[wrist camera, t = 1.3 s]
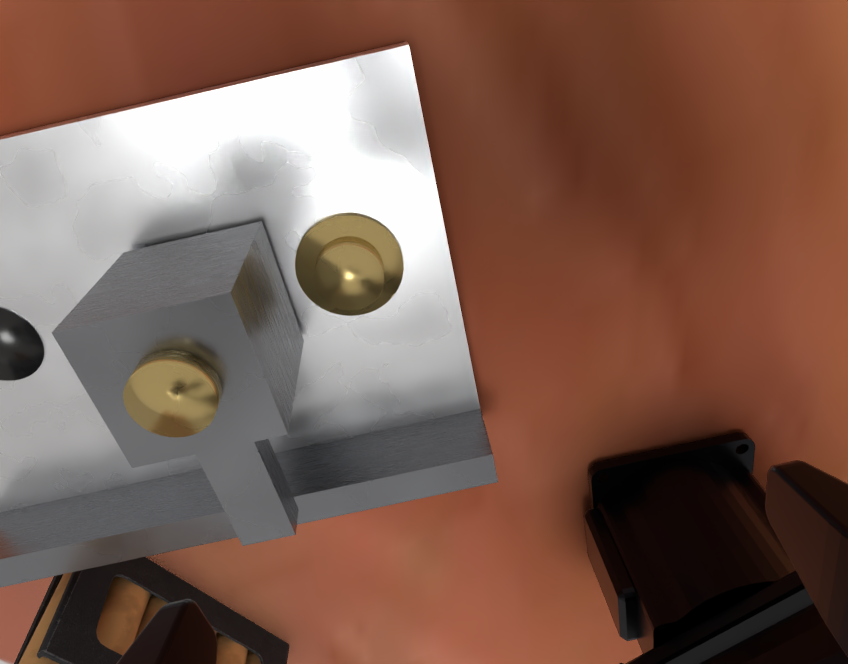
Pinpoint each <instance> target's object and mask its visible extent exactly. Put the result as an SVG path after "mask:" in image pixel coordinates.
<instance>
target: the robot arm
mask: <svg viewBox="0 0 848 664" xmlns="http://www.w3.org/2000/svg"><path fill="white" fill-rule="evenodd" d="M739 445H740V446H739ZM738 446H739V447H738ZM754 451H755V444H754V442H753V441H752V440H751V438H750V437H749V436H748V435H747V434H745V433H734V434H730V435H725V436H720V437H715V438H711V439H706V440H701V441H697V442H692V443H687V444H682V445H678V446H673V447H668V448H664V449H659V450H654V451H649V452H645V453H640V454H635V455H630V456H626V457H621V458H616V459H612V460H607V461H602V462H598V463H596V464H594V465H593V466H591V467H590V469H589V471H588V480H589V491H590V502H591V509H589V510H587V511H586V513H585V515H584V523H585V533H586V543H587V553H588V556H589V559H590V561H591V564H592V567H593V569H594V572H595V574H596V577H597V579H598V582H599V584H600V587H601V590H602V592H603V595H604V597H605V600H606V602H607V605H608V607H609V610H610V613H611V615H612V618H613V620H614V623H615V625H616V628H617V631H618V633H619V636H620V637H622V638H623V639H625V640H626V641H630V640H635V639H637V640H638V643H639V645H640V647H641V650H642V652H643V654H642V655H640V656H638V657H637V658H635V659H633V660H631V661H629V662H627V663H626V664H848V484H847V483H845V482H843V481H841V480H839V479H837V478H836V477H834V476H832V475H830V474H828V473H826V472H824V471H822V470H820V469H818V468H816V467H814V466H812V465H810V464H808V463H806V462H803V461H798V460H796V461H790V462H786V463H781V464H777V465H773V466H771V467H770V469H769V470H768V474H767V486H766V491H765V490H764V489H763V487H762V486H761V485H760V483H759V482H758V481H757V480H756V478H755V477H754V476H753V475H752V473H753V462H754ZM603 473H605V474H604V475H602V476H599V475H601V474H603ZM216 662H217V638H216V634H215V631H214V629H213V628H212V626H211V625H210V623H209V622H208V620H207V619H206V617H205V616H204V614H203V612H202V611H201V609H200V608H199V606H198V605H197V603H196V602H195V601H193V600H191V599H185V600H180V601H176V602H172V603H168V604H165V605H164V606H162V607H161V608H160V609H159V610H158V611H157V613H156V614H155V615H154V616H153V618H152V619H151V620H150V622H149V623H148V624H147V625H146V627H145V628H144V629H143V630H142V632H141V633H140V634H139V636H138V637H137V638H136V639H135V641H134V642H133V643H132V644H131V646H130V647H129V648H128V650H127V651H126V652H125V653H124V655H123V656H122V657H121V658H120V660H119V661H118V662H117V664H216ZM620 664H623V663H620Z"/></svg>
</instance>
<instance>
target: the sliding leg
mask: <svg viewBox="0 0 848 664" xmlns="http://www.w3.org/2000/svg"><path fill="white" fill-rule="evenodd" d="M52 334H53V336H54V338H55V340H56V341H57V343H58V345H59V346H60V348H61V350H62V351H63V353H64V355H65V356H66V358H67V360H68V361H69V363H70V365H71V366H72V368H73V370H74V371H75V373H76V375H77V376H78V378H79V380H80V382H81V383H82V385H83V387H84V388H85V390H86V392H87V393H88V395H89V397H90V398H91V400H92V402H93V403H94V405H95V407H96V408H97V410H98V412H99V413H100V415H101V417H102V419H103V420H104V422H105V424H106V425H107V427H108V429H109V430H110V432H111V434H112V435H113V437H114V439H115V440H116V442H117V444H118V445H119V447H120V449H121V450H122V452H123V454H124V455H125V457H126V459H127V461H128V462H129V464H130V466H131V467H132V468H135V467H140V466H145V465H149V464H154V463H158V462H163V461H168V460H172V459H177V458H182V457H186V456H191V455H196V456H197V458H198V460H199V462H200V464H201V466H202V468H203V470H204V472H205V474H206V476H207V478H208V480H209V482H210V484H211V485H212V487H213V489H214V491H215V493H216V495H217V497H218V499H219V501H220V503H221V505H222V507H223V509H224V511H225V513H226V514H227V516H228V518H229V520H230V522H231V524H232V526H233V528H234V530H235V532H236V534H237V536H238V538H239V540H240V542H241V544H242V545H243V546H244V545H249V544H254V543H259V542H263V541H268V540H273V539H277V538H282V537H287V536H292V535H296V527H297V519H298V511H299V509H298V506H297V504H296V502H295V499H294V497H293V495H292V493H291V490H290V488H289V486H288V483H287V481H286V479H285V476H284V474H283V472H282V469H281V467H280V465H279V462H278V460H277V458H276V455H275V453H274V451H273V448H272V446H271V444H270V441H269V439H270V438H274V437H279V436H283V435H288V431H289V426H290V420H291V414H292V408H293V402H294V396H295V390H296V384H297V379H298V373H299V367H300V361H301V355H302V349H303V343H304V339H303V337H302V334H301V331H300V328H299V325H298V322H297V320H296V317H295V314H294V311H293V308H292V306H291V303H290V300H289V297H288V294H287V291H286V289H285V286H284V283H283V280H282V277H281V274H280V272H279V269H278V266H277V263H276V260H275V258H274V255H273V252H272V249H271V246H270V243H269V241H268V238H267V235H266V232H265V229H264V226H263V224H262V221H259V222H255V223H251V224H246V225H242V226H237V227H233V228H228V229H224V230H220V231H215V232H211V233H206V234H202V235H197V236H193V237H189V238H184V239H180V240H175V241H171V242H166V243H162V244H158V245H153V246H149V247H144V248H140V249H136V250H131V251H127V252H123V254H122V255H121V256H120V257H119V258H118V259H117V260H116V261H115V263H114V264H113V265H112V266H111V267H110V268H109V269H108V270H107V271H106V273H105V274H104V275H103V276H102V277H101V278H100V279H99V280H98V281H97V283H96V284H95V285H94V286H93V287H92V288H91V289H90V290H89V291H88V293H87V294H86V295H85V296H84V297H83V298H82V299H81V300H80V301H79V303H78V304H77V305H76V306H75V307H74V308H73V309H72V310H71V312H70V313H69V314H68V315H67V316H66V317H65V318H64V319H63V320H62V322H61V323H60V324H59V325H58V326H57V327H56V328H55V329H54V330H53V332H52Z"/></svg>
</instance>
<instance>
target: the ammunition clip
mask: <svg viewBox="0 0 848 664" xmlns="http://www.w3.org/2000/svg"><path fill="white" fill-rule="evenodd" d="M185 599H191V600H193V601H195V602H196V603H197V605H198V606H199V608H200V609H201V611H202V612H203V614H204V616H205V617H206V619H207V620H208V622H209V623H210V625H211V626H212V628H213V629H214V631H215V634H216V638H217V662H216V664H287V658H288V651H289V644H287V643H286V642H284V641H282V640H281V639H279V638H278V637H276V636H274V635H273V634H271V633H269V632H268V631H266V630H264V629H263V628H261V627H259V626H258V625H256V624H254V623H253V622H251V621H249V620H248V619H246V618H245V617H243V616H241V615H240V614H238V613H236V612H235V611H233V610H231V609H230V608H228V607H226V606H225V605H223V604H221V603H220V602H218V601H216V600H215V599H213V598H212V597H210V596H208V595H207V594H205V593H203V592H202V591H200V590H198V589H197V588H195V587H193V586H192V585H190V584H188V583H187V582H185V581H183V580H182V579H180V578H179V577H177V576H175V575H174V574H172V573H170V572H169V571H167V570H165V569H164V568H162V567H160V566H159V565H157V564H155V563H154V562H152V561H150V560H149V559H147V558H146V557H141V558H137V559H132V560H127V561H123V562H118V563H113V564H108V565H104V566H99V567H94V568H89V569H85V570H80V571H75V572H71V573H66V574H61V575H56V576H54V577H53V580H52V582H51V584H50V586H49V588H48V591H47V593H46V595H45V597H44V599H43V602H42V604H41V606H40V608H39V610H38V612H37V615H36V617H35V619H34V621H33V623H32V626H31V628H30V630H29V632H28V634H27V637H26V639H25V641H24V643H23V645H22V648H21V650H20V652H19V654H18V656H17V658H16V661H15V663H14V664H117V662H118V661H119V660H120V658H121V657H122V656H123V655H124V653H125V652H126V651H127V650H128V648H129V647H130V646H131V644H132V643H133V642H134V641H135V639H136V638H137V637H138V636H139V634H140V633H141V632H142V630H143V629H144V628H145V627H146V625H147V624H148V623H149V622H150V620H151V619H152V618H153V616H154V615H155V614H156V613H157V611H158V610H159V609H160V608H161V607H162V606H164V605H165V604H168V603H172V602H176V601H180V600H185Z"/></svg>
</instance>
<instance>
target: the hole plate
mask: <svg viewBox="0 0 848 664" xmlns="http://www.w3.org/2000/svg"><path fill="white" fill-rule="evenodd" d="M259 221H262V224H263V226H264V229H265V232H266V235H267V238H268V241H269V243H270V246H271V249H272V252H273V255H274V258H275V260H276V263H277V266H278V269H279V272H280V274H281V277H282V280H283V283H284V286H285V289H286V291H287V294H288V297H289V300H290V303H291V306H292V308H293V311H294V314H295V317H296V320H297V322H298V325H299V328H300V331H301V334H302V337H303V339H304V343H303V349H302V355H301V361H300V367H299V373H298V379H297V384H296V390H295V396H294V402H293V408H292V414H291V420H290V426H289V431H288V435H283V436H279V437H274V438H270V439H269V441H270V444H271V446H272V448H273V451H274V453H275V455H276V458H277V460H278V462H279V465H280V467H281V469H282V472H283V474H284V476H285V479H286V481H287V483H288V486H289V488H290V490H291V493H292V495H293V497H294V499H295V502H296V504H297V506H298V509H299V511H298V519H297V524H302V523H307V522H311V521H316V520H321V519H326V518H330V517H335V516H340V515H344V514H349V513H354V512H359V511H363V510H368V509H373V508H378V507H382V506H387V505H392V504H396V503H401V502H406V501H411V500H415V499H420V498H425V497H429V496H434V495H439V494H444V493H448V492H453V491H458V490H463V489H467V488H472V487H477V486H481V485H486V484H491V483H496V482H498V479H497V474H496V469H495V464H494V459H493V454H492V450H491V446H490V443H489V439H488V435H487V432H486V428H485V424H484V421H483V417H482V413H481V410H480V405H479V400H478V395H477V390H476V384H475V379H474V374H473V369H472V364H471V359H470V354H469V349H468V344H467V339H466V333H465V328H464V323H463V318H462V313H461V308H460V303H459V298H458V293H457V288H456V282H455V277H454V272H453V267H452V262H451V257H450V252H449V247H448V242H447V237H446V231H445V226H444V221H443V216H442V211H441V206H440V201H439V196H438V191H437V186H436V180H435V175H434V170H433V165H432V160H431V155H430V150H429V145H428V140H427V135H426V129H425V124H424V119H423V114H422V109H421V104H420V99H419V94H418V89H417V84H416V78H415V73H414V68H413V63H412V58H411V53H410V48H409V44H408V43H407V42H402V43H398V44H394V45H389V46H385V47H381V48H376V49H372V50H368V51H364V52H359V53H355V54H351V55H346V56H342V57H338V58H333V59H329V60H325V61H321V62H316V63H312V64H308V65H303V66H299V67H295V68H291V69H286V70H282V71H278V72H273V73H269V74H265V75H260V76H256V77H252V78H248V79H243V80H239V81H235V82H230V83H226V84H222V85H217V86H213V87H209V88H205V89H200V90H196V91H192V92H187V93H183V94H179V95H174V96H170V97H166V98H162V99H157V100H153V101H149V102H144V103H140V104H136V105H131V106H127V107H123V108H119V109H114V110H110V111H106V112H101V113H97V114H93V115H89V116H84V117H80V118H76V119H71V120H67V121H63V122H58V123H54V124H50V125H46V126H41V127H37V128H33V129H28V130H24V131H20V132H15V133H11V134H7V135H3V136H0V587H4V586H9V585H14V584H19V583H23V582H28V581H33V580H38V579H42V578H47V577H52V576H56V575H61V574H66V573H71V572H75V571H80V570H85V569H89V568H94V567H99V566H104V565H108V564H113V563H118V562H123V561H127V560H132V559H137V558H141V557H146V556H151V555H156V554H160V553H165V552H170V551H174V550H179V549H184V548H189V547H193V546H198V545H203V544H208V543H212V542H217V541H222V540H226V539H231V538H236V537H238V536H237V534H236V532H235V530H234V528H233V526H232V524H231V522H230V520H229V518H228V516H227V514H226V513H225V511H224V509H223V507H222V505H221V503H220V501H219V499H218V497H217V495H216V493H215V491H214V489H213V487H212V485H211V484H210V482H209V480H208V478H207V476H206V474H205V472H204V470H203V468H202V466H201V464H200V462H199V460H198V458H197V456H196V455H191V456H186V457H182V458H177V459H172V460H168V461H163V462H158V463H154V464H149V465H145V466H140V467H135V468H132V467H131V466H130V464H129V462H128V461H127V459H126V457H125V455H124V454H123V452H122V450H121V449H120V447H119V445H118V444H117V442H116V440H115V439H114V437H113V435H112V434H111V432H110V430H109V429H108V427H107V425H106V424H105V422H104V420H103V419H102V417H101V415H100V413H99V412H98V410H97V408H96V407H95V405H94V403H93V402H92V400H91V398H90V397H89V395H88V393H87V392H86V390H85V388H84V387H83V385H82V383H81V382H80V380H79V378H78V376H77V375H76V373H75V371H74V370H73V368H72V366H71V365H70V363H69V361H68V360H67V358H66V356H65V355H64V353H63V351H62V350H61V348H60V346H59V345H58V343H57V341H56V340H55V338H54V336H53V334H52V332H53V330H54V329H55V328H56V327H57V326H58V325H59V324H60V323H61V322H62V320H63V319H64V318H65V317H66V316H67V315H68V314H69V313H70V312H71V310H72V309H73V308H74V307H75V306H76V305H77V304H78V303H79V301H80V300H81V299H82V298H83V297H84V296H85V295H86V294H87V293H88V291H89V290H90V289H91V288H92V287H93V286H94V285H95V284H96V283H97V281H98V280H99V279H100V278H101V277H102V276H103V275H104V274H105V273H106V271H107V270H108V269H109V268H110V267H111V266H112V265H113V264H114V263H115V261H116V260H117V259H118V258H119V257H120V256H121V255H122V254H123V252H127V251H131V250H136V249H140V248H144V247H149V246H153V245H158V244H162V243H166V242H171V241H175V240H180V239H184V238H189V237H193V236H197V235H202V234H206V233H211V232H215V231H220V230H224V229H228V228H233V227H237V226H242V225H246V224H251V223H255V222H259Z"/></svg>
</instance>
